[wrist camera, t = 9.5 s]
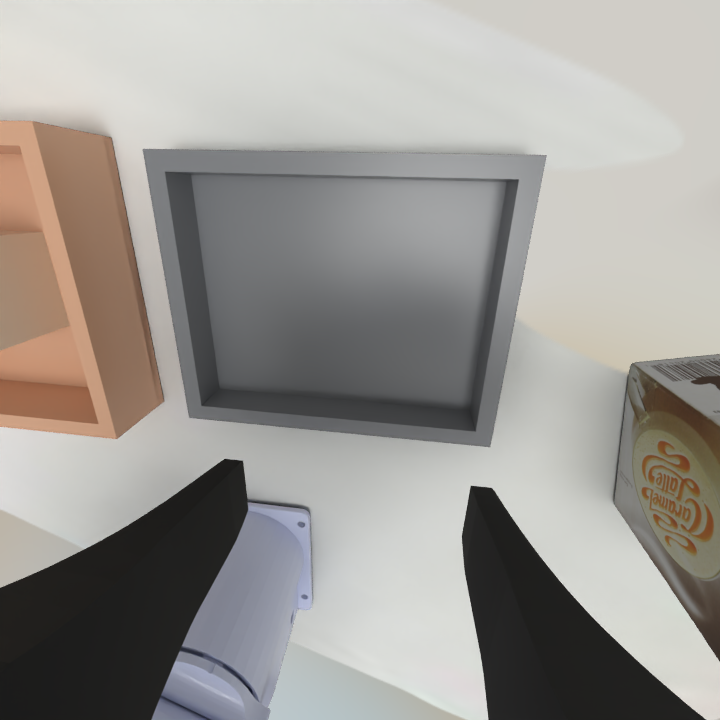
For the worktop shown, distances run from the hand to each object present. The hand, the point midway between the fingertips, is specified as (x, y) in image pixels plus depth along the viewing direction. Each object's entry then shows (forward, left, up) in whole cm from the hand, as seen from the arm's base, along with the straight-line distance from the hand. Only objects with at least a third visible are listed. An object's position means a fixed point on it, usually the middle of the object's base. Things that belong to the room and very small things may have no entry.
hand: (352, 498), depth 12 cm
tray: (+4, +2, -9) cm, 10 cm away
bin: (+4, +20, -9) cm, 22 cm away
